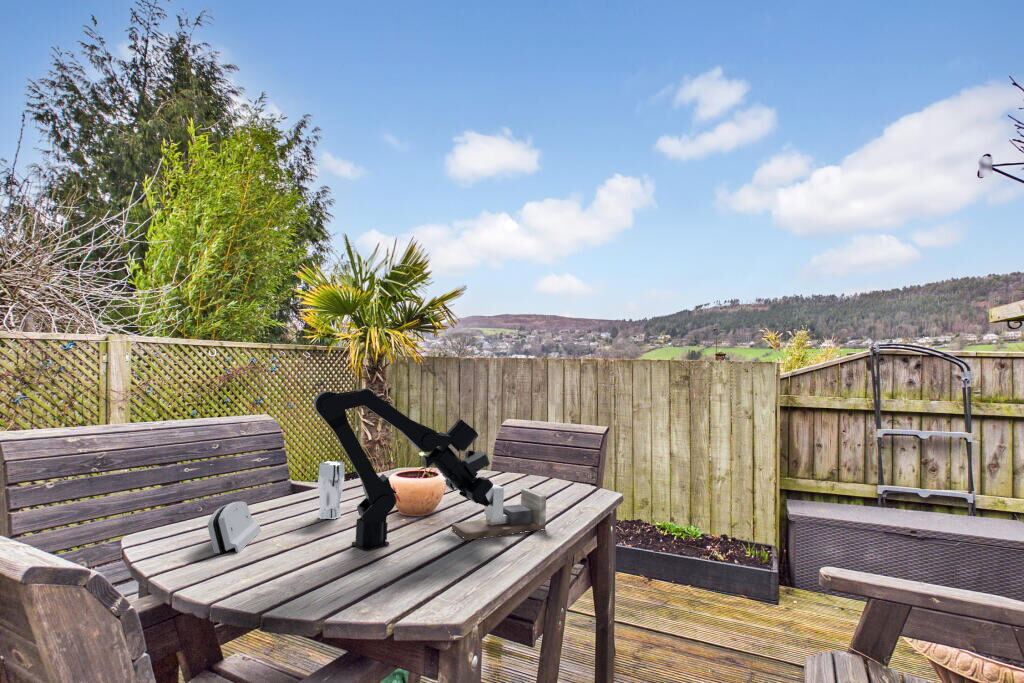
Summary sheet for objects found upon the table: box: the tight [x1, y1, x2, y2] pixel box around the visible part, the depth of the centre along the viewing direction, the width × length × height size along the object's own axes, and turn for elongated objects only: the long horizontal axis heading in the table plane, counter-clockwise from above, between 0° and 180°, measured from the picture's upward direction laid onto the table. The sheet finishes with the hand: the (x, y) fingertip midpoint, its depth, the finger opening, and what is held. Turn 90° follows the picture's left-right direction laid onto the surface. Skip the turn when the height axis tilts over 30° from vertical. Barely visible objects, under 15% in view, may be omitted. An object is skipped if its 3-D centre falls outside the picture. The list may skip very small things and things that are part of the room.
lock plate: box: [451, 487, 547, 541], centre depth 136 cm, size 23×10×9 cm, turn 119°
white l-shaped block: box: [483, 483, 509, 526], centre depth 137 cm, size 10×5×10 cm, turn 119°
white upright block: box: [317, 460, 345, 520], centre depth 143 cm, size 7×7×15 cm
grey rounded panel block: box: [207, 501, 262, 554], centre depth 120 cm, size 17×5×10 cm, turn 10°
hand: (488, 505), depth 134 cm, fingers closed, pressing on white l-shaped block
